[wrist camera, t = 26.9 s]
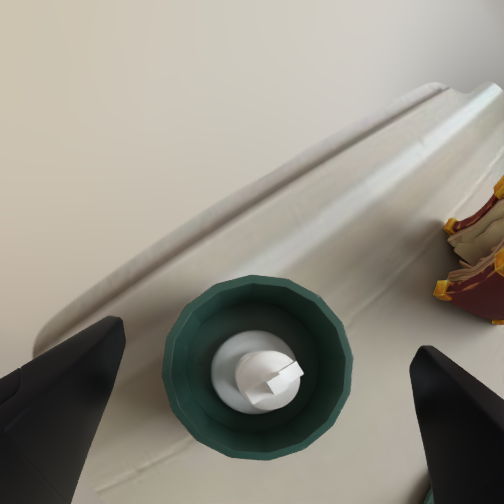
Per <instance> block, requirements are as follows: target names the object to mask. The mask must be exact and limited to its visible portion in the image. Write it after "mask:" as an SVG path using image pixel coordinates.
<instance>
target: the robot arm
mask: <svg viewBox="0 0 504 504" xmlns="http://www.w3.org/2000/svg"><path fill="white" fill-rule="evenodd" d="M125 344H126V339H125V332H124V326H123V321H122V319H121V318H119V317H114V316H107V317H105V318H103V319H102V320H100V321H98V322H96V323H95V324H93V325H91V326H90V327H88V328H86V329H84V330H83V331H81V332H79V333H78V334H76V335H74V336H72V337H71V338H69V339H67V340H66V341H64V342H62V343H60V344H59V345H57V346H55V347H54V348H52V349H50V350H49V351H47V352H45V353H43V354H42V355H40V356H38V357H37V358H35V359H33V360H32V361H30V362H28V363H27V364H25V365H23V366H22V367H21V369H20V368H18V369H16V370H15V371H13V372H11V373H10V374H8V375H6V376H4V377H3V378H1V379H0V504H71V501H72V498H73V495H74V492H75V489H76V486H77V483H78V480H79V477H80V474H81V471H82V469H83V466H84V463H85V460H86V457H87V455H88V452H89V449H90V446H91V444H92V441H93V438H94V436H95V433H96V430H97V428H98V425H99V423H100V420H101V417H102V415H103V412H104V410H105V407H106V405H107V402H108V400H109V397H110V395H111V392H112V390H113V387H114V383H115V380H116V376H117V373H118V369H119V366H120V362H121V359H122V355H123V352H124V349H125ZM409 372H410V378H411V384H412V390H413V397H414V404H415V410H416V415H417V419H418V424H419V428H420V432H421V437H422V441H423V446H424V451H425V455H426V460H427V466H428V471H429V476H430V482H431V488H432V494H433V501H434V504H504V400H503V399H502V398H501V397H499V396H498V395H497V394H496V393H494V392H493V391H492V390H490V389H489V388H488V387H487V386H485V385H484V384H483V383H481V382H480V381H479V380H477V379H476V378H475V377H473V376H472V375H471V374H469V373H468V372H467V371H466V370H464V369H463V368H462V367H460V366H459V365H458V364H456V363H455V362H454V361H452V360H451V359H450V358H448V357H447V356H446V355H444V354H443V353H442V352H440V351H439V350H437V349H436V348H435V347H433V346H430V345H429V346H421V347H420V348H419V349H418V351H417V353H416V355H415V357H414V358H413V360H412V362H411V364H410V369H409Z"/></svg>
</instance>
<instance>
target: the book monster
mask: <svg viewBox="0 0 504 504" xmlns="http://www.w3.org/2000/svg"><path fill="white" fill-rule="evenodd" d="M493 188H494V194H493V195H492V197H491V198H490V199H489V201H488V202H487V203H486V204H485V205H484V206H483V207H482V208H481V209H480V210H479V211H478V212H476V213H475V214H474V215H472V216H470V217H468V218H466V219H464V220H462V221H458V220H457V219H456V218H450V219H449V220H448V222H447V223H446V225H445V227H444V228H443V229H444V230H445V231H446V232H447V233H448V234H449V235H450V237H449V238H448V242H449V243H450V244H451V245H452V246H453V247H455V249H454V252H456V253H457V254H458V255H459V256H461V257H462V258H463V259H464V260H465V261H467V262H468V263H469V264H470V265H469V264H467V263H464V262H462V261H461V260H460V264H461V265H462V267H463V268H464V269H460V270H456V271H451V272H449V275H448V278H447V280H441V281H438V282H437V285H436V288H435V291H434V293H433V295H434V296H436V297H437V298H439V299H440V300H448V301H450V302H451V303H453V304H455V305H457V306H459V307H461V308H462V309H464V310H466V311H468V312H470V313H472V314H474V315H476V316H481V317H485V318H489V319H493V321H492V324H498V325H504V175H503V176H502V178H501V179H500V180H499V181H498V182H497V184H496V185H495V186H494V187H493Z"/></svg>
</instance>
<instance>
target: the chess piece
mask: <svg viewBox="0 0 504 504" xmlns="http://www.w3.org/2000/svg"><path fill="white" fill-rule="evenodd" d="M303 374H304V373H303V371H302V370H301V368H300V366H299V365H298V363H297V361H296V358H295V355H294V353H293V351H292V350H291V348H290V347H289V346H288V345H287V344H286V343H285V342H284V341H283V340H282V339H281V338H279V337H278V336H276V335H274V334H272V333H269V332H266V331H262V330H247V331H242V332H239V333H237V334H234V335H232V336H231V337H229V338H228V339H226V340H225V341H224V342H223V343H222V344H221V345H220V346H219V348H218V349H217V351H216V353H215V355H214V357H213V360H212V363H211V381H212V385H213V387H214V390H215V392H216V393H217V395H218V396H219V398H220V399H221V400H222V401H223V402H224V403H225V404H226V405H228V406H229V407H231V408H232V409H234V410H236V411H239V412H242V413H246V414H263V413H267V412H270V411H273V410H275V409H278V408H281V407H283V406H285V405H287V404H288V403H289V402H290V401H291V400H292V399H293V398H294V397H295V395H296V394H297V392H298V389H299V385H300V376H301V375H303Z"/></svg>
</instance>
